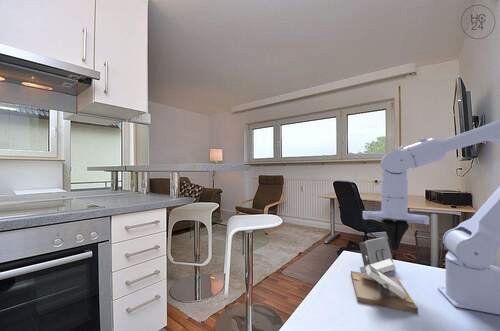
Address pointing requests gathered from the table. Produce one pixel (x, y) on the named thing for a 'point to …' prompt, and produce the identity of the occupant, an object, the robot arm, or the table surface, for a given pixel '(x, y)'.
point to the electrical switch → (375, 251)
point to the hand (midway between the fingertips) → (393, 248)
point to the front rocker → (385, 281)
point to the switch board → (374, 296)
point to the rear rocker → (379, 267)
